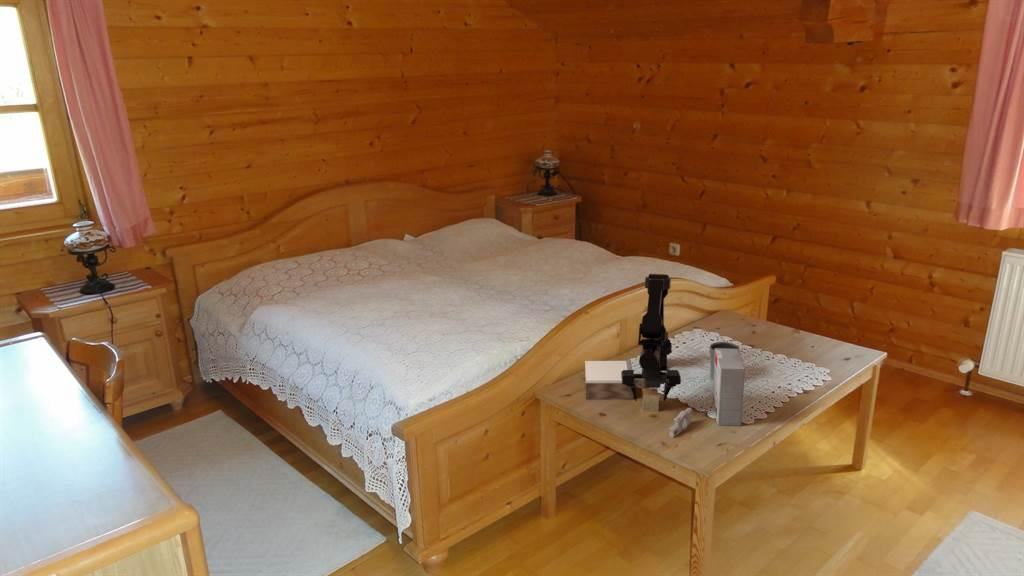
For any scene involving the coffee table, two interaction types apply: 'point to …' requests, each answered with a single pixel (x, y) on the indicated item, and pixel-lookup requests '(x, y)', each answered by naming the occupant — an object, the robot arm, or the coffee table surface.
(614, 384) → the storage box
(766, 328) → the coffee table surface
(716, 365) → the hard drive box
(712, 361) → the drinking glass
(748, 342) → the coffee table surface
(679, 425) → the garden wall model
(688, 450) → the coffee table surface
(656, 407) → the block
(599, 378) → the box lid
